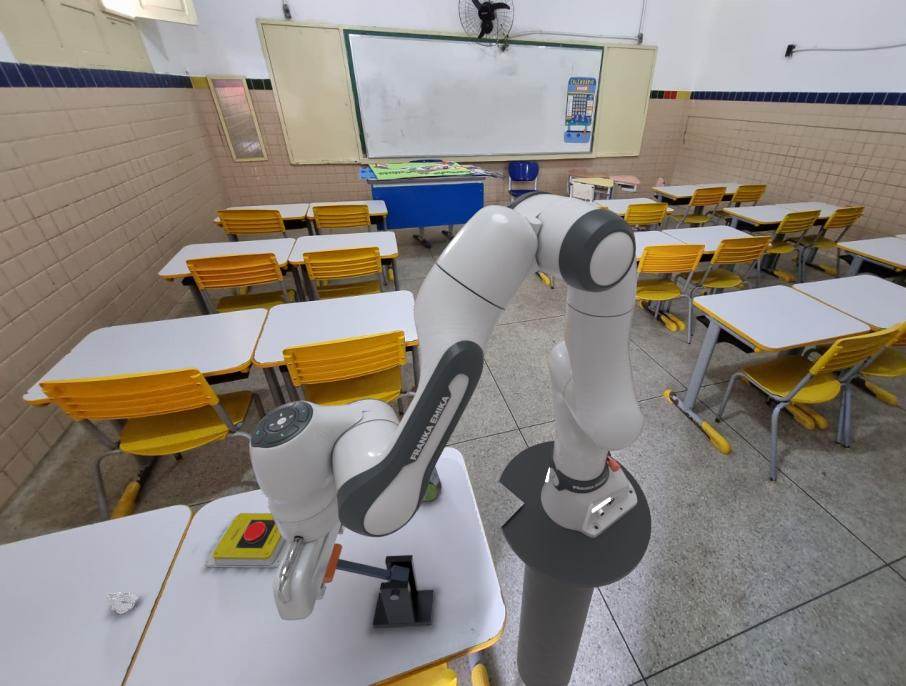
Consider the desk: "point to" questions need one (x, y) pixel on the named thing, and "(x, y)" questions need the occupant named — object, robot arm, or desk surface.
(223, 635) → the desk surface
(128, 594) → the white crumpled lump
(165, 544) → the desk surface
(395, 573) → the switch lever
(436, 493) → the beverage can
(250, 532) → the emergency button
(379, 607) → the switch bracket
